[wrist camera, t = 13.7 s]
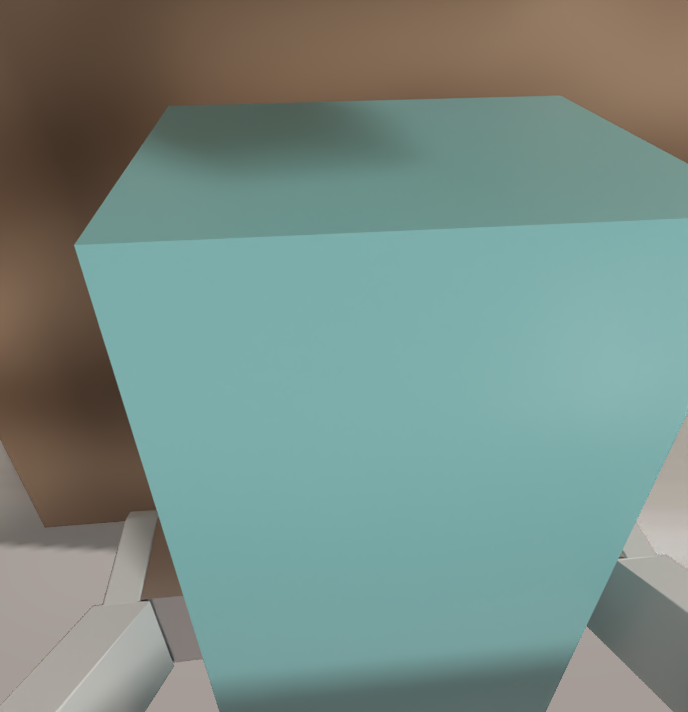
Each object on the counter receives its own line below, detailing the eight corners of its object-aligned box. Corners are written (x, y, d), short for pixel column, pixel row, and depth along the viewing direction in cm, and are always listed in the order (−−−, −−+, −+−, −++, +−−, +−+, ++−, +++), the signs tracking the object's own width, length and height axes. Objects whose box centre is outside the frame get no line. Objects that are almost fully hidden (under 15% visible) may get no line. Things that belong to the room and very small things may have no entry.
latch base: (574, 445, 23) (597, 483, 21) (62, 482, 21) (45, 527, 19) (983, -692, 8) (1151, -837, 7) (-536, -869, 7) (-790, -1121, 5)
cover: (452, 623, 15) (499, 808, 12) (262, 640, 15) (258, 837, 11) (561, 95, 7) (782, 214, 4) (168, 106, 7) (73, 245, 4)
